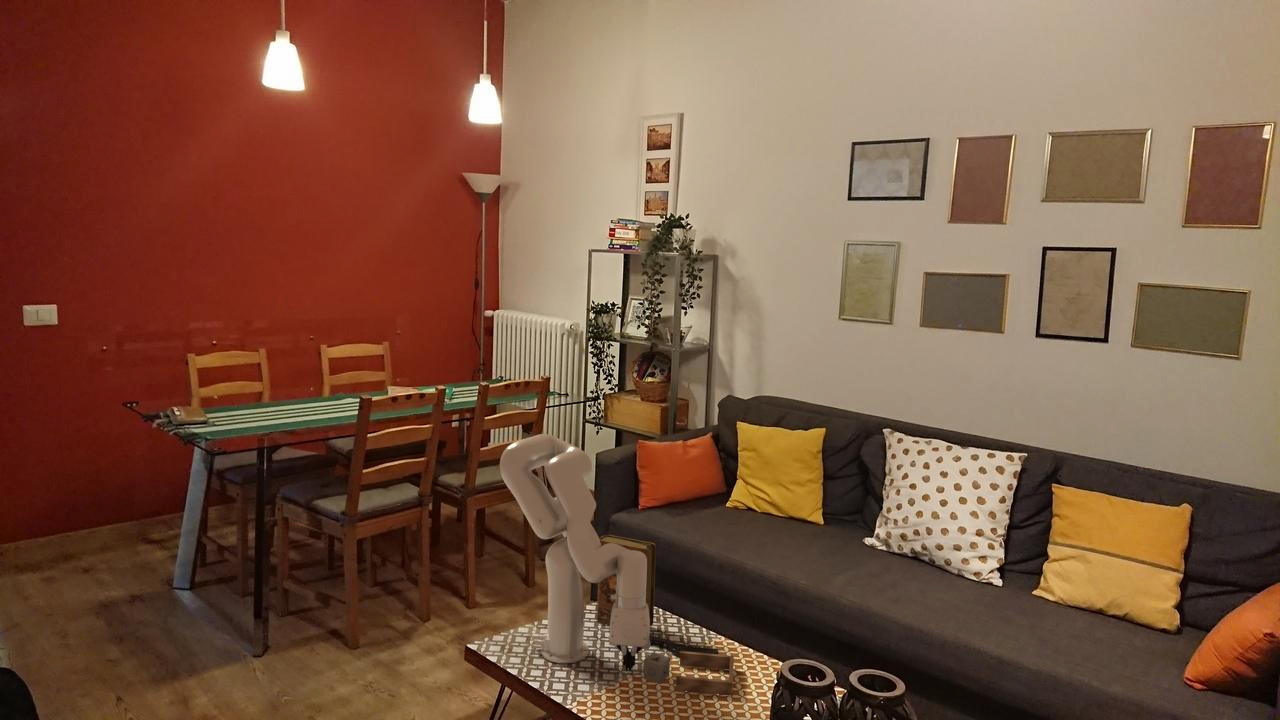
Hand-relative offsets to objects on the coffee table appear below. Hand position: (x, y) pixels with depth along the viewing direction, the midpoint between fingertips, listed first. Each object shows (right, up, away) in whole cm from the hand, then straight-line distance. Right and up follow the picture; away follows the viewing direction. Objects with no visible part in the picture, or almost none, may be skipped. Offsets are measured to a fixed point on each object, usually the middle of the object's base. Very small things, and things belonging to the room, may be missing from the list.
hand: (629, 667), depth 214 cm
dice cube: (+7, -2, -2) cm, 7 cm away
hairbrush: (+12, -1, +13) cm, 18 cm away
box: (+19, -2, -2) cm, 20 cm away
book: (-2, +2, +27) cm, 28 cm away
